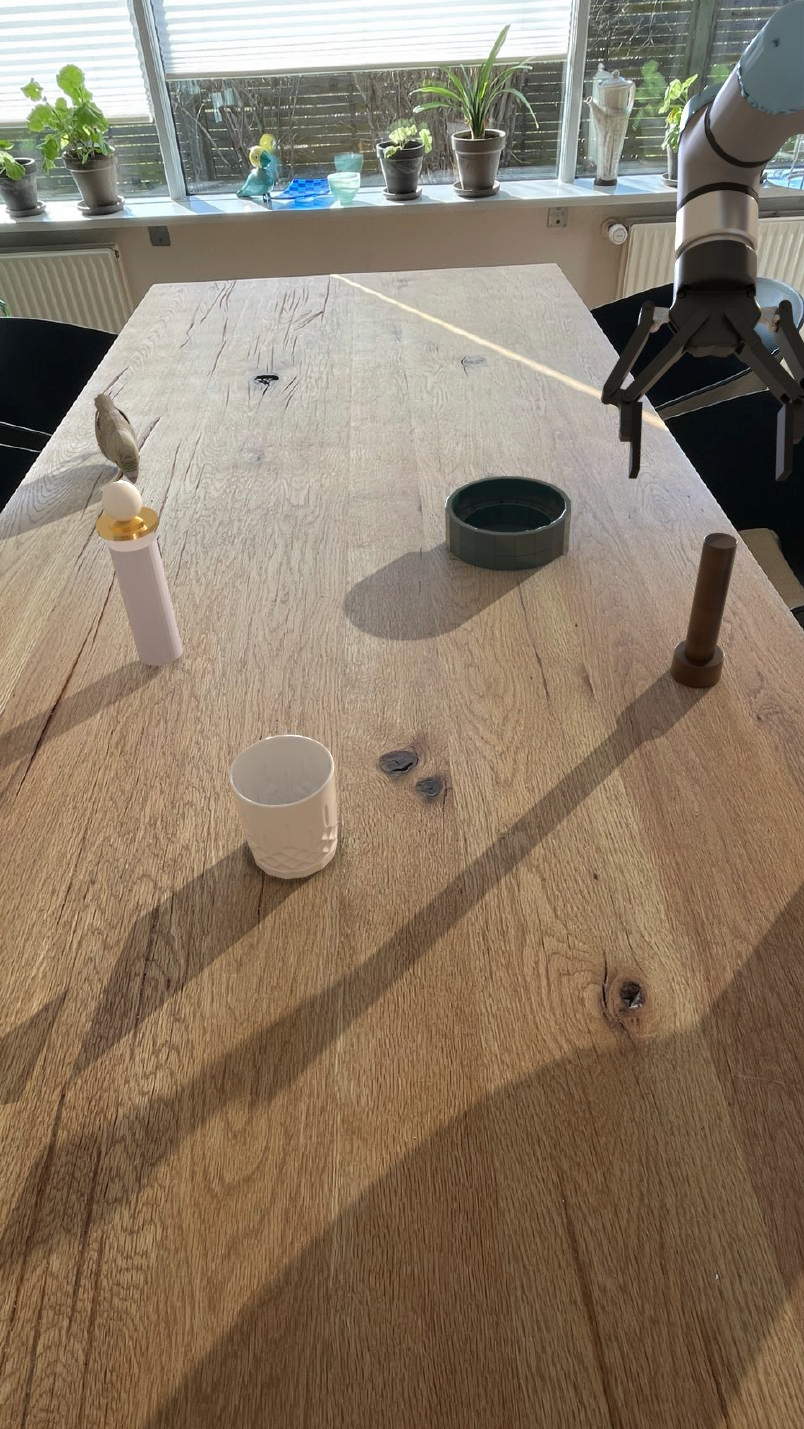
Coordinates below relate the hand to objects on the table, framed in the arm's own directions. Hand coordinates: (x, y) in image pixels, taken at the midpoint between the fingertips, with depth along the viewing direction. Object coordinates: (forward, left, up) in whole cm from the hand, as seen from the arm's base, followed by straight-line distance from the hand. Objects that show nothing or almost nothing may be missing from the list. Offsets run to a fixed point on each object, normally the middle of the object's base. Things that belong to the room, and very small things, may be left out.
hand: (708, 475), depth 89 cm
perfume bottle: (+54, +9, -17) cm, 57 cm away
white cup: (+34, +35, -17) cm, 52 cm away
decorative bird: (+75, -37, -17) cm, 85 cm away
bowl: (+19, -15, -17) cm, 29 cm away
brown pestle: (0, +10, -17) cm, 20 cm away
